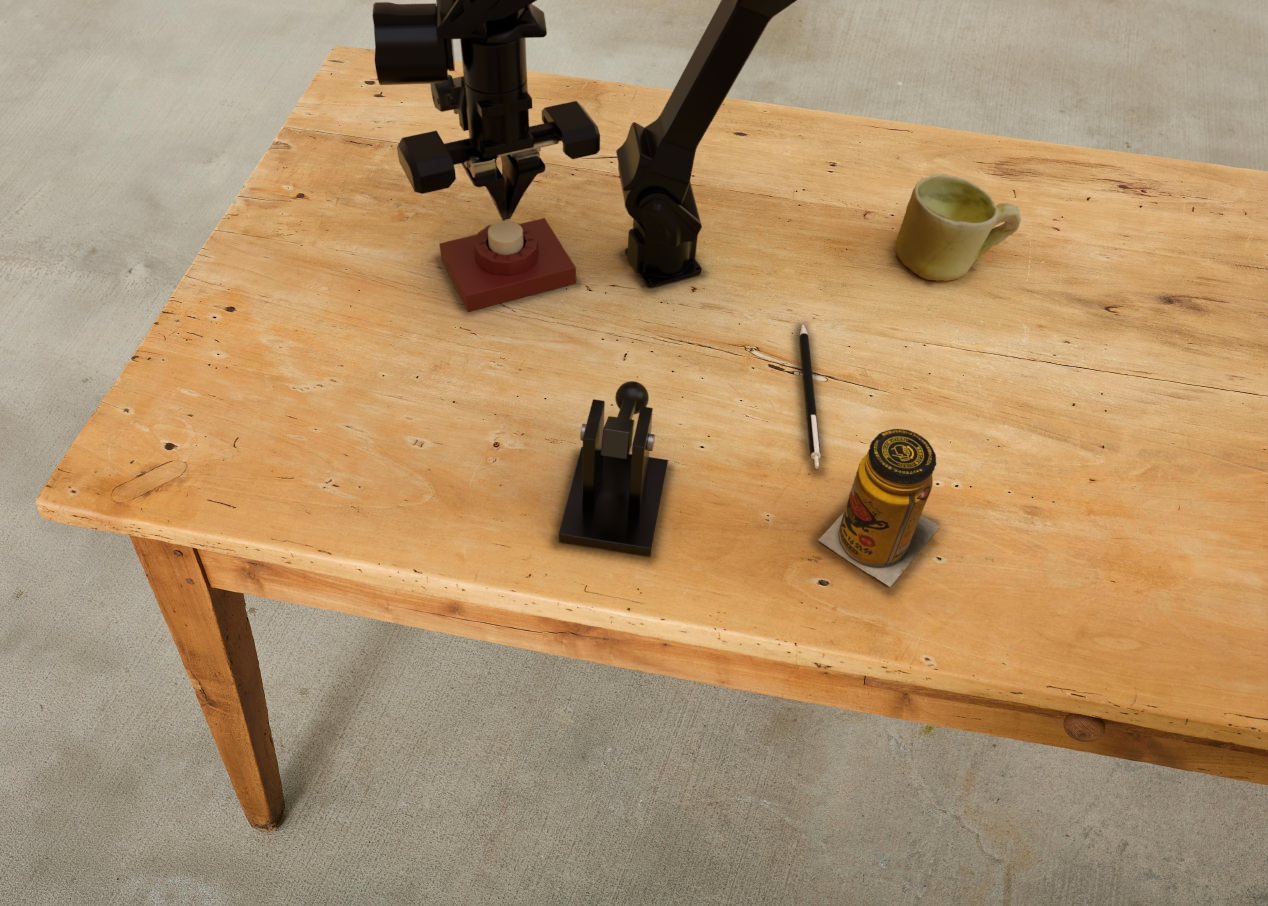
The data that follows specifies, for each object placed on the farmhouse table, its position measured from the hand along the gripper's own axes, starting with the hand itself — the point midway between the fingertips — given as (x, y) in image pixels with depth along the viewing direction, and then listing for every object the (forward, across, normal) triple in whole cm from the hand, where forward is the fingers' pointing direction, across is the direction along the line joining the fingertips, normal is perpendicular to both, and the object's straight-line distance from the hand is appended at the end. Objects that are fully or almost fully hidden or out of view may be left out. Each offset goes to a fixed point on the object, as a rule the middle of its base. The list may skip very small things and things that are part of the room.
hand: (504, 217), depth 107 cm
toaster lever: (+1, 0, +30) cm, 30 cm away
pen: (+8, -21, +28) cm, 36 cm away
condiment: (+7, -18, +45) cm, 49 cm away
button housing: (+7, 0, 0) cm, 7 cm away
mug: (+7, -46, +16) cm, 49 cm away
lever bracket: (+7, +2, +33) cm, 34 cm away
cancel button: (+3, 0, 0) cm, 3 cm away
